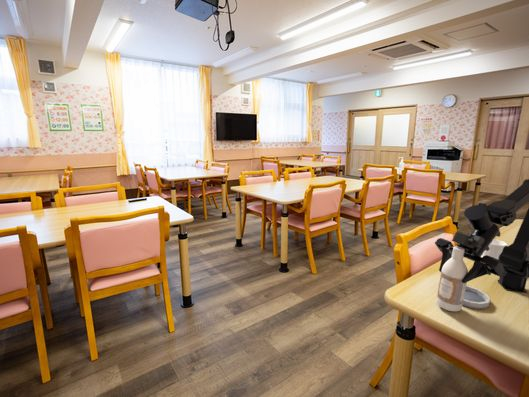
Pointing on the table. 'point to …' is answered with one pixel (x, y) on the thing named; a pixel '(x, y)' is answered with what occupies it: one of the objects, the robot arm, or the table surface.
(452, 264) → the bath foam
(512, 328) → the table surface
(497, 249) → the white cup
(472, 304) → the round grey tray
